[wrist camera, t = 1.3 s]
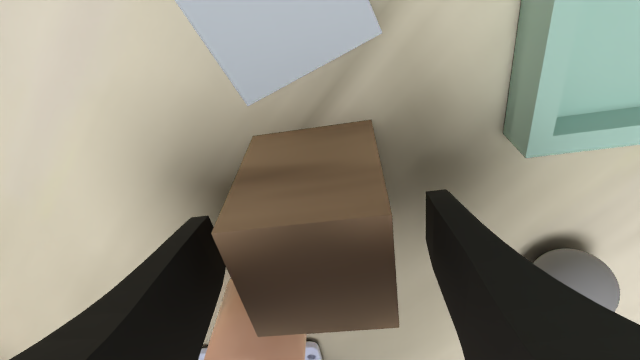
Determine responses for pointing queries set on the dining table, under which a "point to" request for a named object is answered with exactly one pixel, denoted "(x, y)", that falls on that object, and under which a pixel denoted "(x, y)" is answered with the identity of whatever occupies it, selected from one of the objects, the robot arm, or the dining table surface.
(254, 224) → the walnut block
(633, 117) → the teal tray
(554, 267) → the grey ball
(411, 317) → the dining table surface
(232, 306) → the peach rounded cylinder
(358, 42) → the slate block
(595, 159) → the dining table surface
